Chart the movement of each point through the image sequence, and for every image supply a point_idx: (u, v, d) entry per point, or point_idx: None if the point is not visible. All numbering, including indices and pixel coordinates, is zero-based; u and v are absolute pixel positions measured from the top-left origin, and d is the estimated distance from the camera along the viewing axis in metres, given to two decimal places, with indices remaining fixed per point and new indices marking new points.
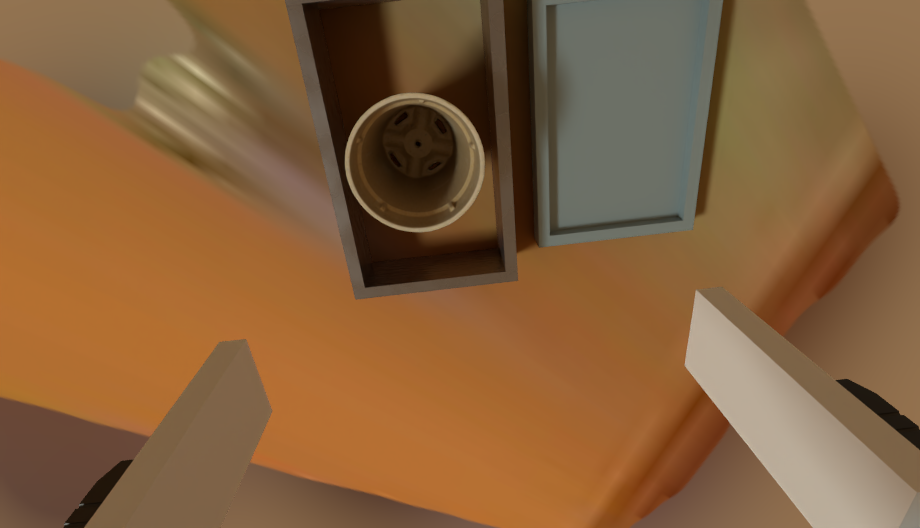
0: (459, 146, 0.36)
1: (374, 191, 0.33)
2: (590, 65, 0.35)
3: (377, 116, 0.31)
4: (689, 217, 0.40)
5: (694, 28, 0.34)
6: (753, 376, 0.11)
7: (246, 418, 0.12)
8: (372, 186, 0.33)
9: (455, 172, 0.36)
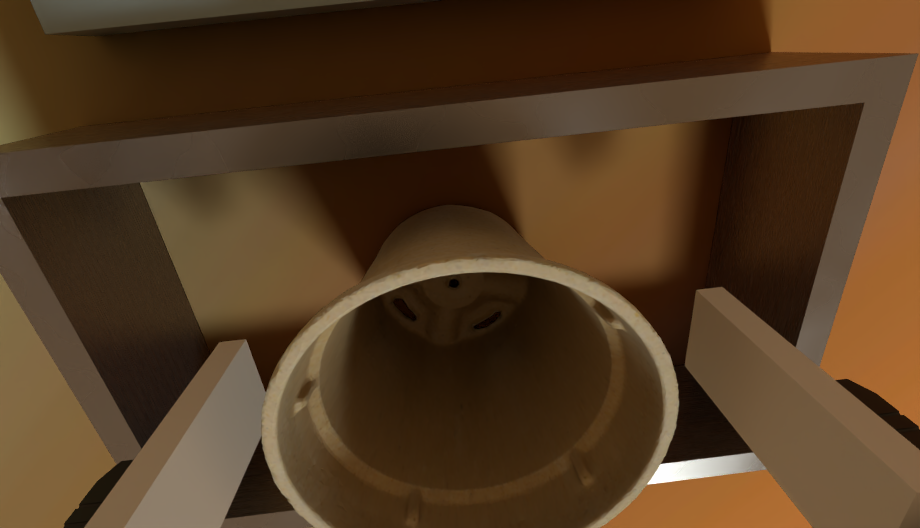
0: None
1: (539, 467, 0.14)
2: None
3: (359, 465, 0.13)
4: None
5: None
6: (753, 376, 0.11)
7: (246, 418, 0.12)
8: (527, 460, 0.14)
9: (517, 241, 0.14)
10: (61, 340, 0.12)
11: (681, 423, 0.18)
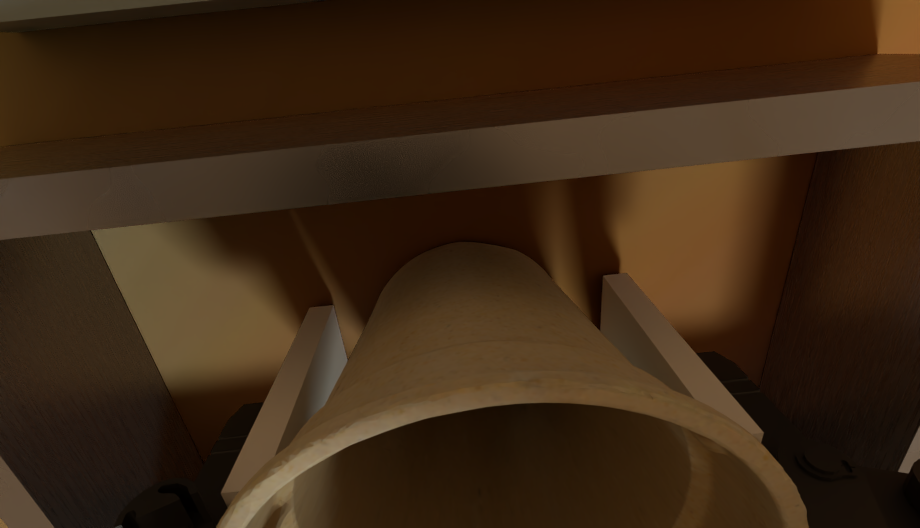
0: None
1: None
2: None
3: None
4: None
5: None
6: (637, 350, 0.12)
7: (336, 375, 0.14)
8: None
9: None
10: None
11: None
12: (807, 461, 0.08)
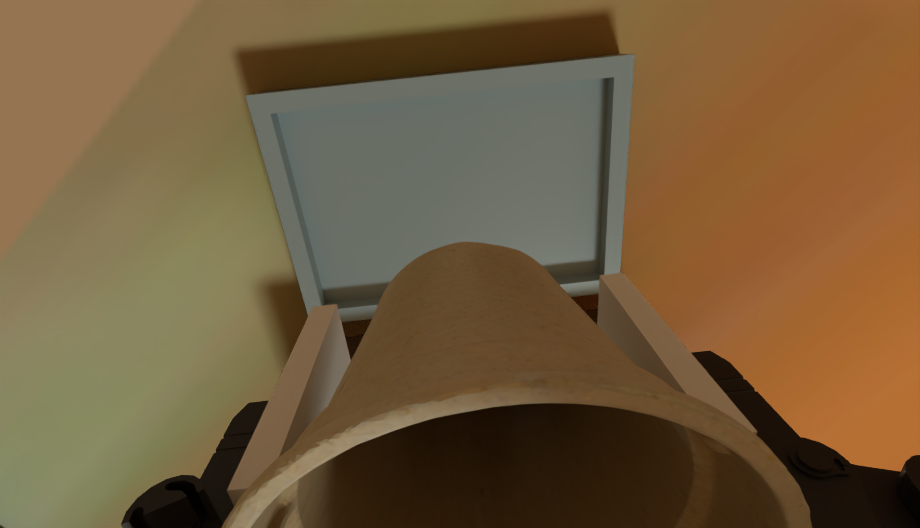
0: None
1: None
2: (383, 244, 0.28)
3: None
4: (610, 66, 0.23)
5: (326, 113, 0.24)
6: (633, 349, 0.12)
7: (340, 374, 0.14)
8: None
9: (558, 299, 0.11)
10: None
11: None
12: (800, 460, 0.08)
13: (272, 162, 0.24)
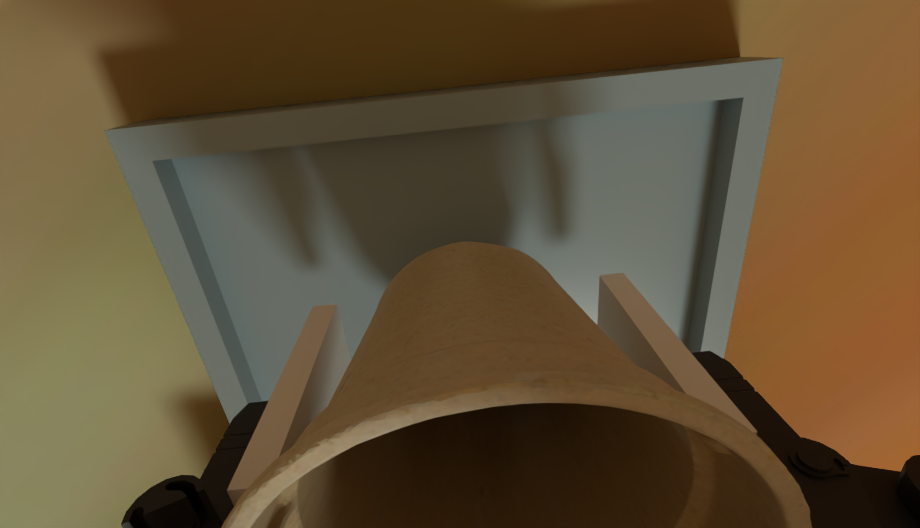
0: None
1: None
2: None
3: None
4: (739, 79, 0.13)
5: (254, 156, 0.15)
6: (632, 349, 0.12)
7: (340, 374, 0.14)
8: None
9: (558, 299, 0.11)
10: None
11: None
12: (800, 459, 0.08)
13: (164, 238, 0.15)
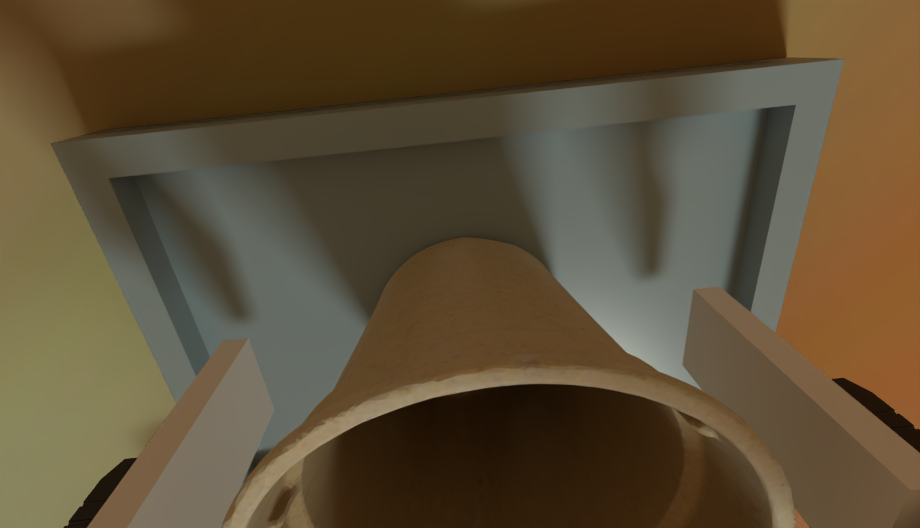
0: None
1: None
2: None
3: None
4: (792, 83, 0.12)
5: (229, 171, 0.13)
6: (749, 375, 0.11)
7: (248, 417, 0.12)
8: None
9: (554, 292, 0.11)
10: None
11: None
12: None
13: (126, 266, 0.13)
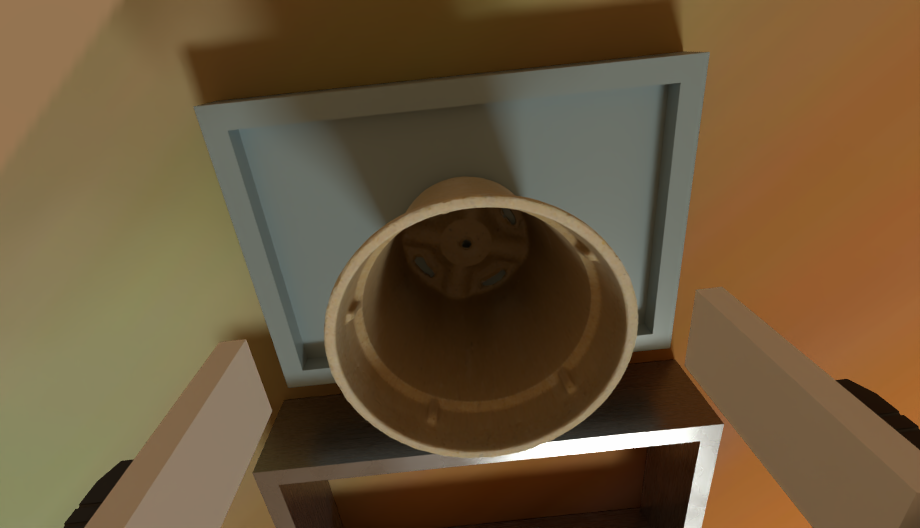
0: None
1: (534, 383, 0.17)
2: None
3: (391, 376, 0.16)
4: (676, 68, 0.18)
5: (302, 128, 0.19)
6: (753, 376, 0.11)
7: (246, 418, 0.12)
8: (524, 380, 0.17)
9: None
10: None
11: None
12: None
13: (232, 192, 0.19)
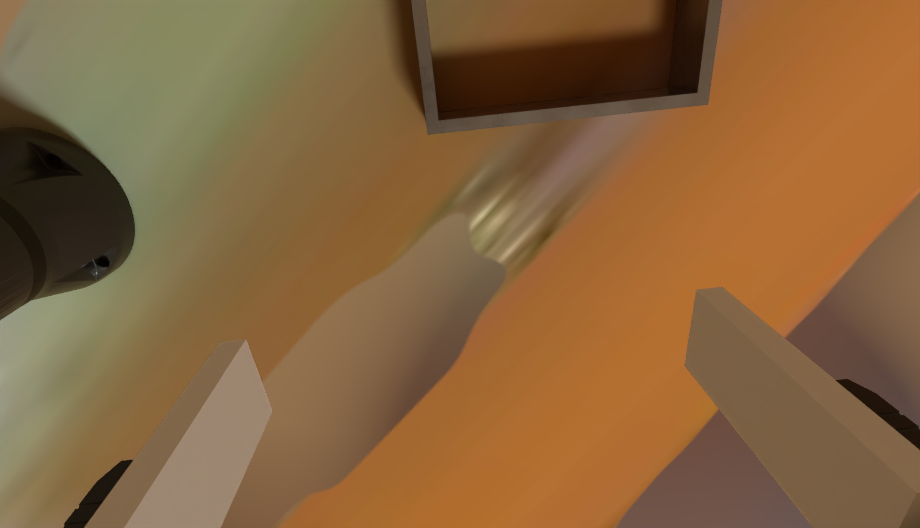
0: None
1: None
2: None
3: None
4: None
5: None
6: (753, 376, 0.11)
7: (246, 418, 0.12)
8: None
9: None
10: (419, 8, 0.33)
11: (660, 94, 0.38)
12: None
13: None
